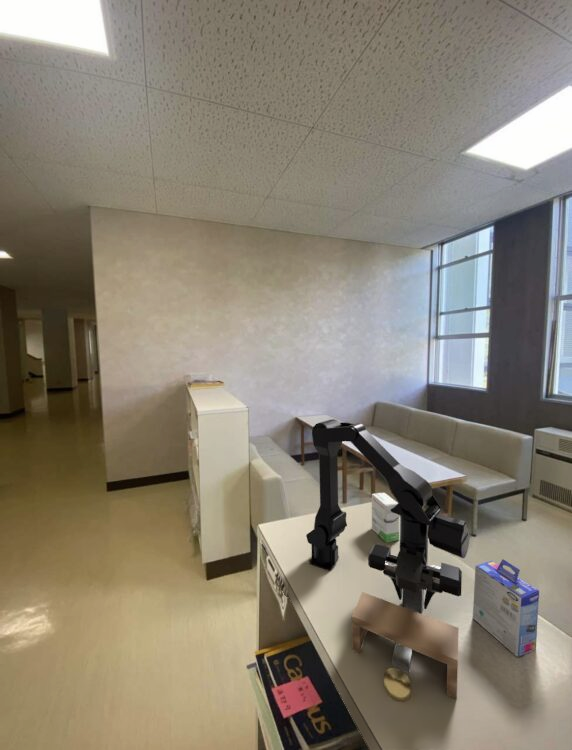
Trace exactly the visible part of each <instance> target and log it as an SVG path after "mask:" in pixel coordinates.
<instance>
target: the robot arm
mask: <svg viewBox="0 0 572 750" xmlns="http://www.w3.org/2000/svg"><path fill="white" fill-rule="evenodd" d="M311 437H312V442H313V443H312V444H313V446H314V448H315V450H316V451H317V453H318V465H319V466H318V468H319V469H318V471H319V472H318V473H319V507H318V510H317V512H316V514H315V518H314V524H313V529H312V530H310V531H309V532H308V533H307V534H306V535H305V536H306V540H307V543H308V544H309V545H311V546H310V547H311V557H310V559H309V560H308V563H309V564H310V565H314V566H315V567H318V568H320V569H324V570H327V571H328V572H330V571H332V570H333V568H334V566H335V565H336V564H337V563H338V561H339V546H338V545H337V538H338V537H340V535H341V534H342V533H343V532H344V531H345V530H346V528H347V526H348V522H347V512H346V511H343V510H342V509H341V507H340V506H339V477H338V476H339V471H338V470H339V469H338V466H339V465H338V453H339V451H340V449H341V446H342V444H343V442H347V443H348V442H350V443H351V444H352V445H353V446H354V447H355V449H357V450H358V451H359V453H360V454H361V455H362V456H363V457H365V459H366V460H367V461H368V462H369V463H370V464H371V465H372V466H373V467H374V469H375V470H376V471H377V472H378V473H379V474H380V475H381V476H382V477H383V478H384V480H385V481H386V483H387V486H388V487H389V488H388V489H389V491H390V492H391V494H392V496H393V498H394V500H395V501H396V502H397V503H398V504H397V505H395V506H394V507H393V508H392V509H391V512H393V513H395V514H398V515H399V552H398V553H397V556H396V555H393V554H392V549H391V547H389V546H386V545H383V544H379V543H375V544H373V545H372V547H371V550H370V551H369V554H368V558H367V560H368V561H367V565H368V567H369V568H371V569H373V570H377V571H380V572H382V573H383V574H384V576H388V577H389V578H390V579H391V581H392V584H393V586H394V589H395V591H396V595H397V598H398V600H399V601H402V600H403V588H404V589H407V590H410V591H412V592H414V593H420V592H421V589H423V590H424V591H425V594H424V606H423V610H426V609H427V608H428V606H429V605H430V601H431V600H432V598H433V596H434V595H435V594H436V593H439V594H442V593H445V594H446V593H447V594H450V595H452V596H456V597H461V596H462V585H463V584H462V582H463V581H462V579H463V578H462V577H463V576H462V575H463V574H462V572H463V571H462V570H461V568H460V567H458V566H455V565H452V564H447V563H444V562H442V561H441V563H440V564H441V565H440V566H439V565H435V564H431V565H429V564H428V559H429V558H428V554H429V553H428V552H429V545H431V546H432V547H433V548H436V549H439V550H441V551H444V552H446V553H449V554H451V555H453V556H457V557H458V558H462V559H465V558H466V557H467V553H468V550H469V548H470V547H469V546H470V540H471V539H470V538H471V536H470V533H469V528H468V527H467V521H465V520H462V519H458V518H453V517H449V516H447V515H444V514H441V512H443V507H442V506H441V505H440V503H439V501H438V499H437V497H436V496H435V494H434V493H433V488H432V486H431V484H430V483H429V482H428V481H427V480H426V479H424V478H423V477H422V476H420V474H418V473H417V472H415V471H414V470H411V469H409V468H407V467H405V466H404V465H402V464H401V463H400V462H399V461H398V460H397V459H396V458H395V457H394V456H393V455H392V454H391V453H390V452H389V451H388V450H387V449H386V448H385V447H384V446H383V445H382V444H381V443H380V442H379V441H378V440H377V439H376V438H375V437H374V436H373V435H372V434H371V433H370V432H369V431H368V429H367V427H366V426H365V425H364V424H362V423H359V422H356V423H351V422H346V421H345V422H344V421H343V422H340V421H339V420H337V419H335V418H333V419H332V418H331V419H327V420H323V421H320V422H317V423H315V425H313V427H312V428H311ZM425 505H426V506H428V507H427V508H426V509H425V510H424V509H423V508H424V507H425Z"/></svg>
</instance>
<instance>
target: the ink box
mask: <svg viewBox="0 0 572 750" xmlns="http://www.w3.org/2000/svg"><path fill="white" fill-rule="evenodd" d="M397 504H398V501H397V500H396V499H393V498H392V497H391V496H390V495H389V494H387V493H386V492H376V493H371V529H372V530H373V531H374V533H376V535H378V536H379V537H380V538H381V539H382V540H383V541H384V542H385V543H391V542H395V541H400V515H398V514H395V513H393V512H391V509H392V508H393V507H394V506H395V505H397Z"/></svg>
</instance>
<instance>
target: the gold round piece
mask: <svg viewBox="0 0 572 750" xmlns="http://www.w3.org/2000/svg"><path fill="white" fill-rule="evenodd" d="M383 689H384V690H385V693H386V694H387V696H389V698H391V699H392V700H393V701H396V702H399V703H403V702H404V703H405V702H407V701H408V700H409V699H410V698H411V694H412V692H411V691H412V684H411V681H410V678H409V676H408V675H407V673H406V672H405V671H403V670H401V669H398V668H396V667H391V668H388V669H387V670H385V672H384V674H383Z"/></svg>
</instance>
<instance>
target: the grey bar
mask: <svg viewBox="0 0 572 750" xmlns="http://www.w3.org/2000/svg"><path fill="white" fill-rule="evenodd" d="M401 601H402V604H401V606H402V607H404V608H407V609H410V610H412V611H415V612H418V613H420V614H423V612H424V601H425V590H423V589H421V592H420V593H414V592H412V591H410V590H407V589H404V588H403V589H402V599H401ZM413 653H414V650H412V649H410V648H408V647H406V646H403V645H401V644H399V643H396V642H395V646H394V649H393V653H392V658H391V666H392V667H393V668H396V669H399V670H401V671H403V672H404V673H406V674H407V673H408V674H410V670H411V666H412V659H413Z"/></svg>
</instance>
